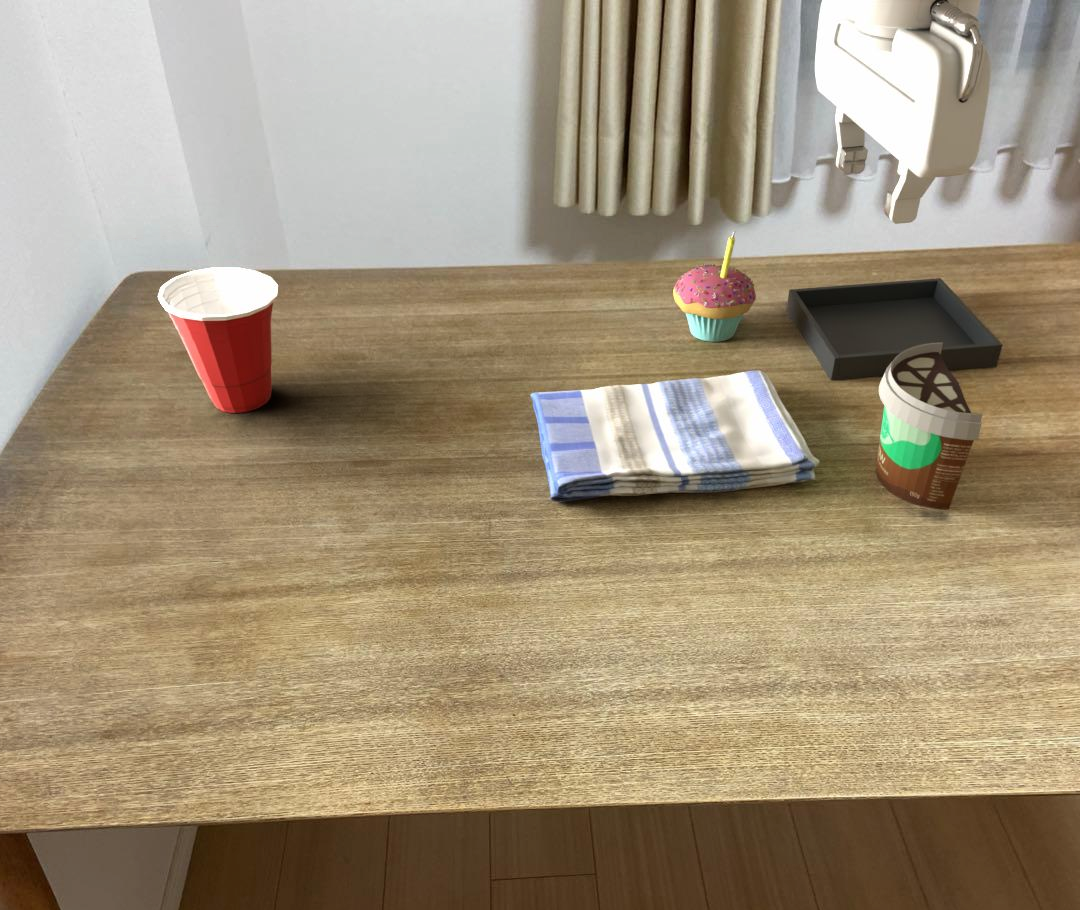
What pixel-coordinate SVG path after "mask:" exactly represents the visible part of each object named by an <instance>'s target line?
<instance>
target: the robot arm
mask: <svg viewBox="0 0 1080 910" xmlns="http://www.w3.org/2000/svg"><path fill="white" fill-rule="evenodd" d="M980 5H981V0H821V3H820V7H819V15H818V21H817V23H818V24H817V33H816V45H815V56H814V57H815V58H814V74H815V75H814V76H815V84H816V88H817V90H818V92H819V93H820V94H821V95H822V96H824V97H825V98H826V99H827V100H828V101H830V103H832V104H833V105H834V106H835V107H836V108H835V116H834V121H835V129H836V131H835V132H836V138H837V153H836V160H835V166H836V168H837V169H838V170H840V171H841V173H843V174H844V175H846V176H848V175H849V176H850V175H858V174H862V173H863V172H864V171H865V169H866V160H867V158H868V152H869V149H867V148H866V147H865V143H866V141H865V139H866V137H865V136H866V133H867V135H869V136H870V137H871V138H872V139H873V140H874V141H876V142H877V143H878V144H879V145H880V146H882V147H883V148H884V149H885V150H886V151H887V152H888V153H890V154H891V155H892V156H893V157H895V159H897V160H898V167H897V171H896V173H897V174H898V175H899V176H900V177H899V179H898V181H897V183H896V185H895V188H894V190H891V191H887V193H886V198H885V206H884V209H883V212H884V215H885V216H886V217H887V218H888V219H889V220H890V221H891V222H892V223H893V224H895V225H898V224H900V225H901V224H910V223H913V221H915V220H916V218H918V217H917V216H918V212H919V208H920V204H921V203H920V202H921V199H922V198H923V197H924V195H925V194H926V192H927V191H928V190H929V188H930V187H931V185H932V183H933V182H934V181H935V179H936V178H946V177H954V176H962V175H965V174H967V172H968V171H969V170H970V169H971V167H972V166H973V165H974V164H975V162H976V161H977V158H978V155H979V151H980V145H981V141H982V136H983V131H984V126H985V119H986V113H987V107H988V101H989V93H990V87H991V86H990V85H991V73H992V64H991V63H992V62H991V57H990V53H989V51H988V49H987V48H986V44H985V43H984V42H983V41H982V35H981V32H980V28H981V27H980V26H981V24H980V21H979V19H978V18H977V16H978V15H979V9H980Z"/></svg>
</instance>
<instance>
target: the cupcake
mask: <svg viewBox="0 0 1080 910" xmlns="http://www.w3.org/2000/svg"><path fill="white" fill-rule="evenodd" d="M735 234H736V231H735V230H734V231H732V235H731V236H729V237H728V239H727V243H726V248H725V253H724V257H723V262H722V265H721V264H718V265H715V263H713V264H705V265H704V264H702V265H699V266H696V267H693V268H692V269H688V271H687V272H686V273H684V274H681V277H680V278H679V279H678V280H677V281H676V283H675V285H674V287H673V290H672V291H673V292H672V295H673V299H674V302H675V303H676V305H677V306H678V307H679V309H680V310H681V311H682V312H683V313H684V314H685V316H686V319H687V323H688V326H689V331H690V334H691V335H692V336H693V337H694V338H695V339H698V340H700V341H704V342H709V343H710V342H711V343H718V342H724V341H728V340H729V339H731V338H732V337H733V336H734V335H735V333H736V331H737V329H738V326H739V324H740V322H741V321H742V319H743V317H744V316H745V314H747V313H748V312H749V311H750V310H751V308H752V306H753V305H754V303H755V301H756V299H757V294H756V290H755V283H753V280H752V279H751V278H749V276H748V275H747V274H746V273H743V272H742V271H740V270H739V269H736V268H735V267H730V265H731V264H730V263H731V259H732V256H733V250H734V245H735V242H736V238H735Z"/></svg>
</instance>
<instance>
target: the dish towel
mask: <svg viewBox="0 0 1080 910" xmlns="http://www.w3.org/2000/svg"><path fill="white" fill-rule="evenodd" d="M530 399H531V401H532V407H533V410H534V414H535V418H536V423H537V427H538V428H537V429H538V434H539V441H540V447H541V449H540V450H541V456H542V460H543V462H544V466H545V471H546V472H545V473H546V476H547V481H548V486H549V492H550V499H551V501H552V502H558V503H560V502H569V501H577V500H587V499H594V498H599V497H606V496H621V497H625V496H627V497H628V496H629V497H630V496H631V497H633V496H646V495H652V494H653V495H654V494H675V493H676V494H677V493H689V494H696V493H699V494H700V493H701V494H702V493H707V494H708V493H722V492H723V493H724V492H734V491H738V490H746V489H755V488H764V487H773V486H774V487H775V486H780V485H787V484H799V483H804V482H808V481H815V480H816V473H815V470H814V469H815V468H816V467H817V466H819V464H820V462H821V461H820V460H819V459H818V458H817V457H815V456H814V455H813V453H812V451H811V450H810V448H809V446H808V444H807V441H806V439H805V437H804V436H803V435H802V432H801V430H800V429H799V427H798V425H797V424H796V422H795V421H794V419H793V417H792V415H791V413H790V412H789V411H788V410H787V408H786V406H785V405H784V403H783V401H782V400H781V398H780V396H779V393H778V391H777V388H776V387H775V385H774V384H773V382H772V380H771V379H770V377H769V376H768V374H767V373H766V372H765V371H761V370H759V369H757V370H755V369H754V370H748V371H747V370H746V371H743V372H737V373H732V374H727V375H718V376H711V377H704V378H699V377H695V378H684V379H674V380H663V381H657V382H654V383H638V384H618V385H617V384H615V385H606V386H600V387H598V388H594V389H577V390H559V391H539V392H532V393H531V394H530Z"/></svg>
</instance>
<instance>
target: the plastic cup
mask: <svg viewBox="0 0 1080 910" xmlns="http://www.w3.org/2000/svg"><path fill="white" fill-rule="evenodd" d="M278 291H279V284H277V282H276V280H274V279H273V277H271V276H270V275H267V274H265V273H262V272H260V271H258V270H254V269H249V268H243V267H242V268H241V267H236V266H235V267H231V266H230V267H229V266H228V267H226V266H225V267H208V268H203V269H197V270H192V271H189V272H188V271H187V272H186V273H183V274H180V275H177V276H175V277H172V278H171V279H170V280H168V281H167V282H165V283H164V284H163V285H161V287H160V288H159V290H158V295H157V298H158V301H159V302H160V304H161V306H162V307H163V308H164V310H165V311H166V312H167V313H168V315H169V318H170V319H171V320H172V323H173V325H174V328H175V329H176V330H177V332H178V334H179V337H180V339H181V341H182V343H183V345H184V347H185V349H186V352H187V354H188V356H189V358H190V361H191V362H192V364H193V367H194V369H195V371H196V373H197V375H198V377H199V379H200V380H201V381H202V384H203V386H204V388H205V390H206V392H207V395H208V396H209V398H210V400H211V402H212V403H213V405H214V406H215V407H216V409H217V410H220V411H222V412H224V413H233V414H240V413H247V412H251V411H254V410H258V409H259V408H261V407H262V406H264V405H265V404H267V403H268V401H270V399H271V397H272V396H271V395H272V389H273V381H272V379H273V378H272V363H273V360H272V359H273V356H272V354H273V352H272V315H273V307H274V303H275V301H276V300H277V297H278Z"/></svg>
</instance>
